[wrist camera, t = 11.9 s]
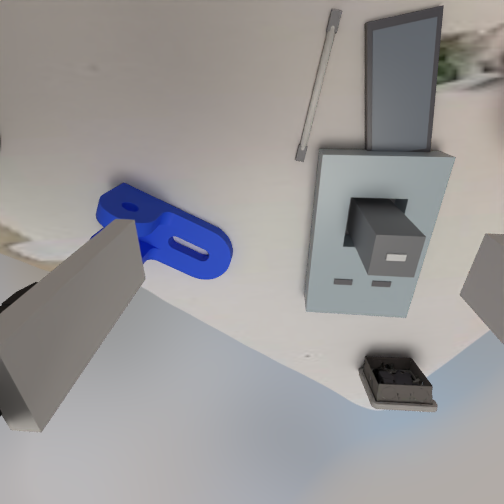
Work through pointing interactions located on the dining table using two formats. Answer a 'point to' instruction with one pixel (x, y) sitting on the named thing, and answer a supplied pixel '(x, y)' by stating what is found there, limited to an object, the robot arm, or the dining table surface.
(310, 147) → the dining table surface
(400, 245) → the plug
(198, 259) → the bracket
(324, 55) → the usb cable
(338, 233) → the plate
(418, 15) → the phone
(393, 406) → the electrical switch
